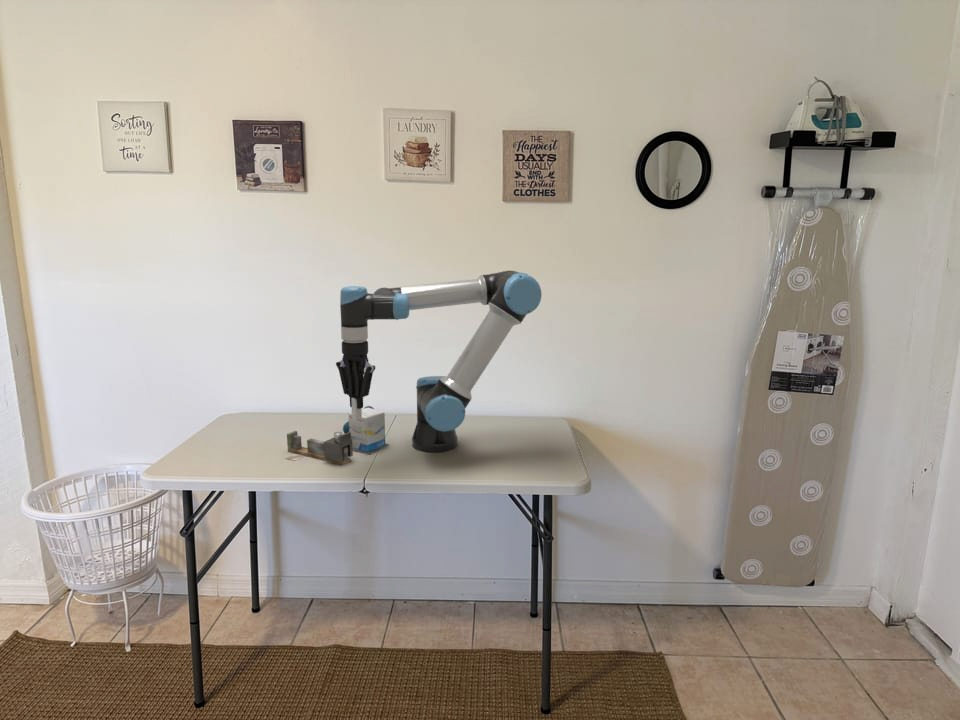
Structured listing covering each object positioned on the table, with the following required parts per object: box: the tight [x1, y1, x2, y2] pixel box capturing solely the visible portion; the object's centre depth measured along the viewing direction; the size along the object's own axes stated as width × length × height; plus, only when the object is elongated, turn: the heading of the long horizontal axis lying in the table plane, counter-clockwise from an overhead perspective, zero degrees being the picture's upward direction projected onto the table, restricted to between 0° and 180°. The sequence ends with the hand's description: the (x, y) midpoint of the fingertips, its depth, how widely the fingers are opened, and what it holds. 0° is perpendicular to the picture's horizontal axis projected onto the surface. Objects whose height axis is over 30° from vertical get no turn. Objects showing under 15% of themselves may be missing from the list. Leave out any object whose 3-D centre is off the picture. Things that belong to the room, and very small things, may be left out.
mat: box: [353, 442, 389, 455], centre depth 201 cm, size 10×10×1 cm
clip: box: [324, 431, 354, 462], centre depth 188 cm, size 6×6×8 cm
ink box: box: [348, 407, 386, 452], centre depth 200 cm, size 9×8×12 cm
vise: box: [285, 430, 351, 466], centre depth 190 cm, size 22×8×6 cm, turn 62°
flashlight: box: [342, 405, 375, 434], centre depth 220 cm, size 5×22×5 cm, turn 170°
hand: (356, 418), depth 182 cm, fingers closed
